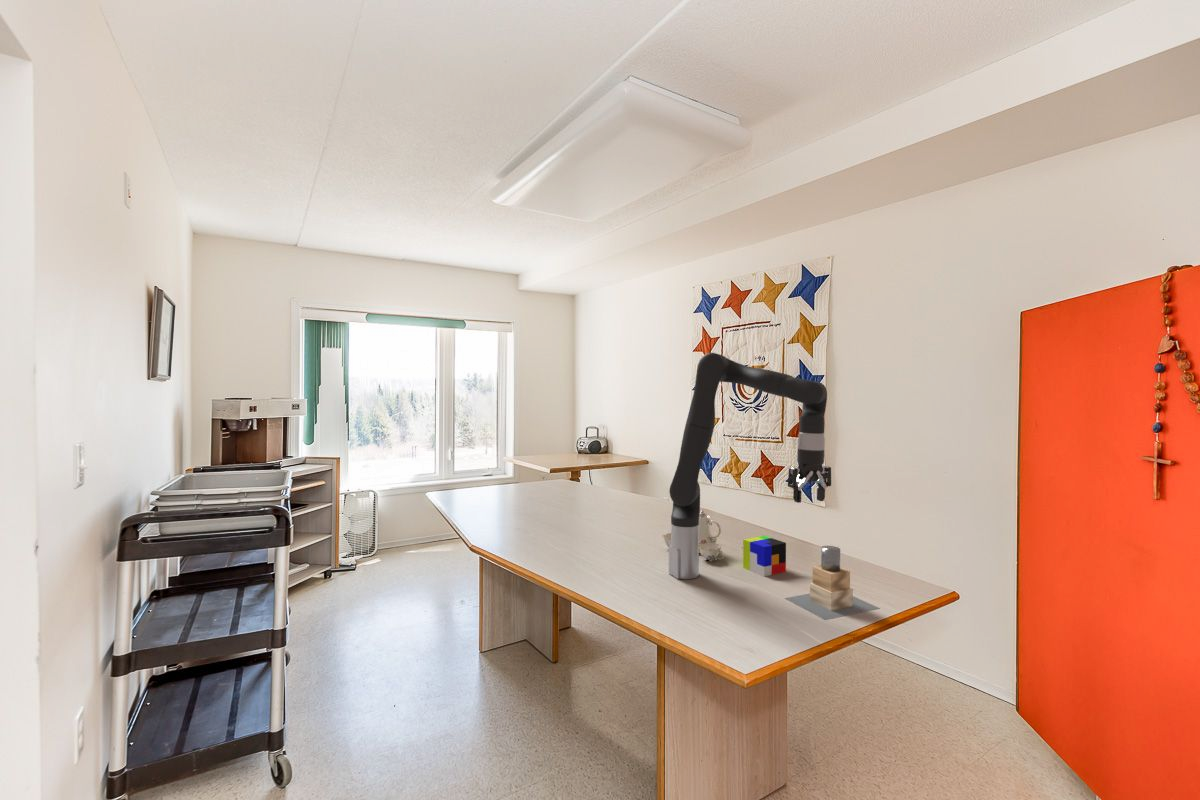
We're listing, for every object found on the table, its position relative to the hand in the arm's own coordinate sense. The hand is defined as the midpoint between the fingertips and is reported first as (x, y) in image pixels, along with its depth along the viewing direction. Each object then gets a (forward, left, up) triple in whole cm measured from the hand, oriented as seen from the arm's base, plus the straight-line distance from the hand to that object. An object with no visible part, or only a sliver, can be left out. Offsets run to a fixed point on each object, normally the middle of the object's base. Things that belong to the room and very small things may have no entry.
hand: (809, 501), depth 161 cm
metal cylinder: (+1, -8, -18) cm, 20 cm away
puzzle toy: (+3, +24, -29) cm, 38 cm away
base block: (+1, -8, -28) cm, 29 cm away
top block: (+1, -8, -23) cm, 24 cm away
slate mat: (+1, -8, -29) cm, 30 cm away
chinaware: (-8, +50, -29) cm, 58 cm away
